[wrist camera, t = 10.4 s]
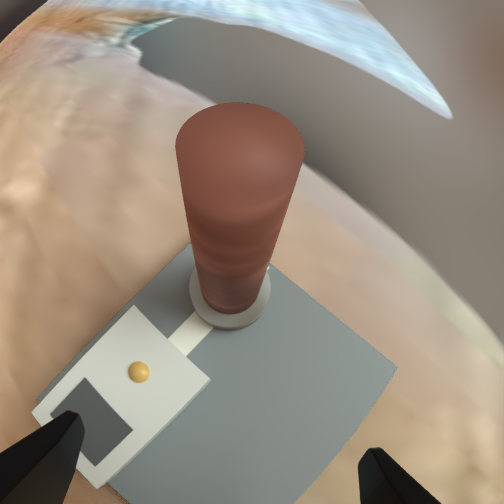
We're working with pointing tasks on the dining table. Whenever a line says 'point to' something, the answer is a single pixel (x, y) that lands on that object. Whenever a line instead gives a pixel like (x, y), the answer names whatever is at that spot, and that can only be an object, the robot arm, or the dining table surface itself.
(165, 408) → the block
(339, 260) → the dining table surface
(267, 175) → the joystick
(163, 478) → the subfloor panel
